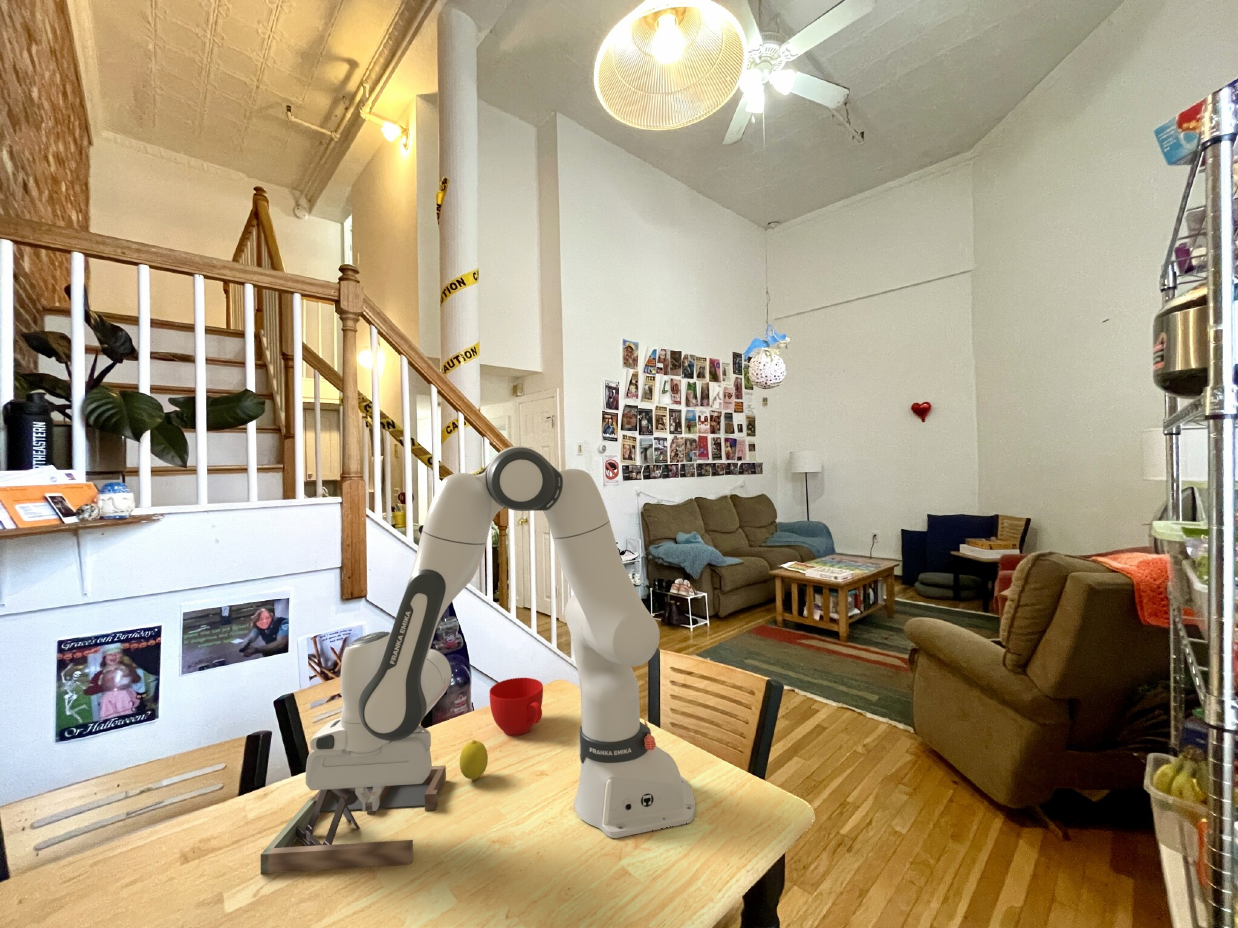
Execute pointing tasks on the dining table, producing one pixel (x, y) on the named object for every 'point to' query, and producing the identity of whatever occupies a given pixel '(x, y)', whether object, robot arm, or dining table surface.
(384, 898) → the dining table surface
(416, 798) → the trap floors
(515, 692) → the ceramic cup
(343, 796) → the portable electronic device stand
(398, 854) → the channel
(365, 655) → the robot arm
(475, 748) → the lemon
